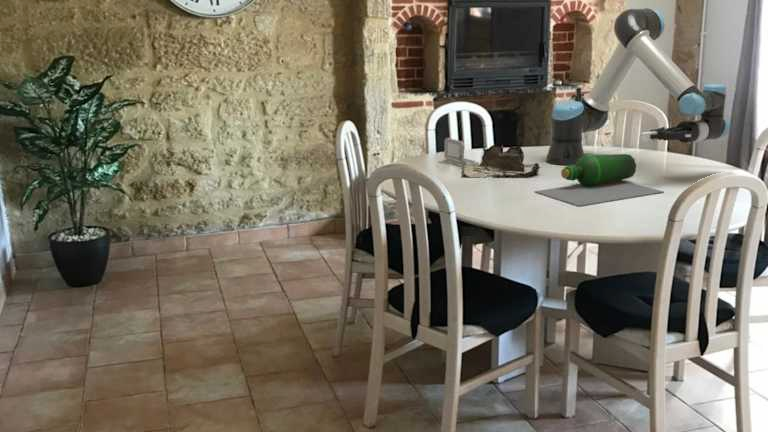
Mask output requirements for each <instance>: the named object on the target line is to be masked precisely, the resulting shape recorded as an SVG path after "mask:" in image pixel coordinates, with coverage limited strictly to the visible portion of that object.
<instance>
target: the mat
mask: <svg viewBox="0 0 768 432" xmlns="http://www.w3.org/2000/svg"><path fill="white" fill-rule="evenodd" d="M534 193H536V194H538V195H541V196H544V197H548V198H551V199H552V200H556V201H560V202H563V203H565V204H570V205H572V206H575V207H578V208H579V207H587V206H591V205H598V204H604V203H608V202H609V203H610V202H611V203H612V202H615V201H621V200H628V199H634V198H639V197H646V196H652V195H658V194H659V195H660V194H664V190H659V189H656V188H652V187H648V186H645V185H640V184H635V183H632V182H628V181H625V180H618V181H613V182H608V183H603V184H598V185H593V186H584V185H582V184H573V185H568V186H560V187H555V188H547V189H540V190H535V191H534Z"/></svg>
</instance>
